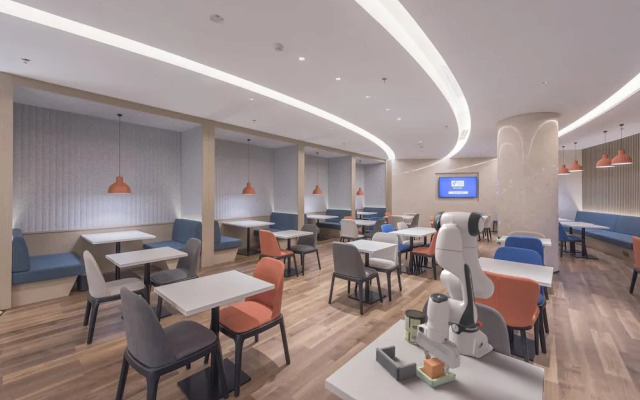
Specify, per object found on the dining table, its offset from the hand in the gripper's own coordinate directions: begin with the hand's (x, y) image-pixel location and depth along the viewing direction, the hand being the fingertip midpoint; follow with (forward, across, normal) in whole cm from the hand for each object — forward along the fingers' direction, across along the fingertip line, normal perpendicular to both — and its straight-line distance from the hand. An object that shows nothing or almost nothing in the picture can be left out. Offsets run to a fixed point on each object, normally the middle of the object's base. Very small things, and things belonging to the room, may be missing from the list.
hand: (436, 365), depth 117 cm
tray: (+5, 0, 0) cm, 5 cm away
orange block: (+4, 0, +1) cm, 4 cm away
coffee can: (+5, +27, -13) cm, 30 cm away
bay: (+4, +11, +12) cm, 17 cm away
